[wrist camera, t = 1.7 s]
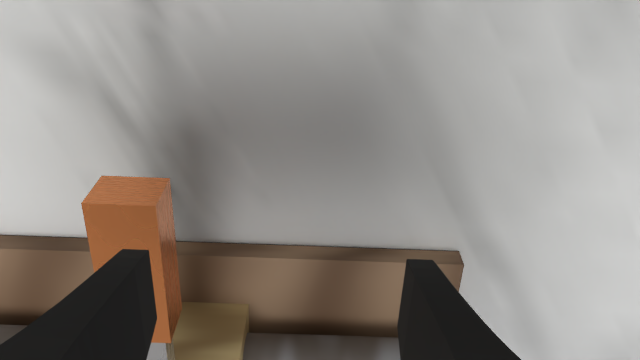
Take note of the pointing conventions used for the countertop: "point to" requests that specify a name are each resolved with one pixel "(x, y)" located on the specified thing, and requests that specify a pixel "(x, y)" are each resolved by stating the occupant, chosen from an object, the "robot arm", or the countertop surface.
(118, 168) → the countertop surface
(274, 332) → the valve board
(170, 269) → the valve lever
